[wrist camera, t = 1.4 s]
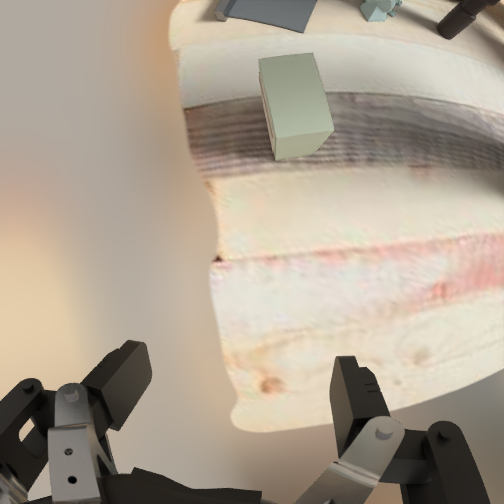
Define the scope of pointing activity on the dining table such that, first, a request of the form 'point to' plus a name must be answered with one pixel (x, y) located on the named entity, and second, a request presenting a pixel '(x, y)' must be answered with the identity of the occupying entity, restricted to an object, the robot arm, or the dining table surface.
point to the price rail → (224, 9)
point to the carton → (294, 105)
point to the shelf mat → (275, 12)
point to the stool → (453, 23)
